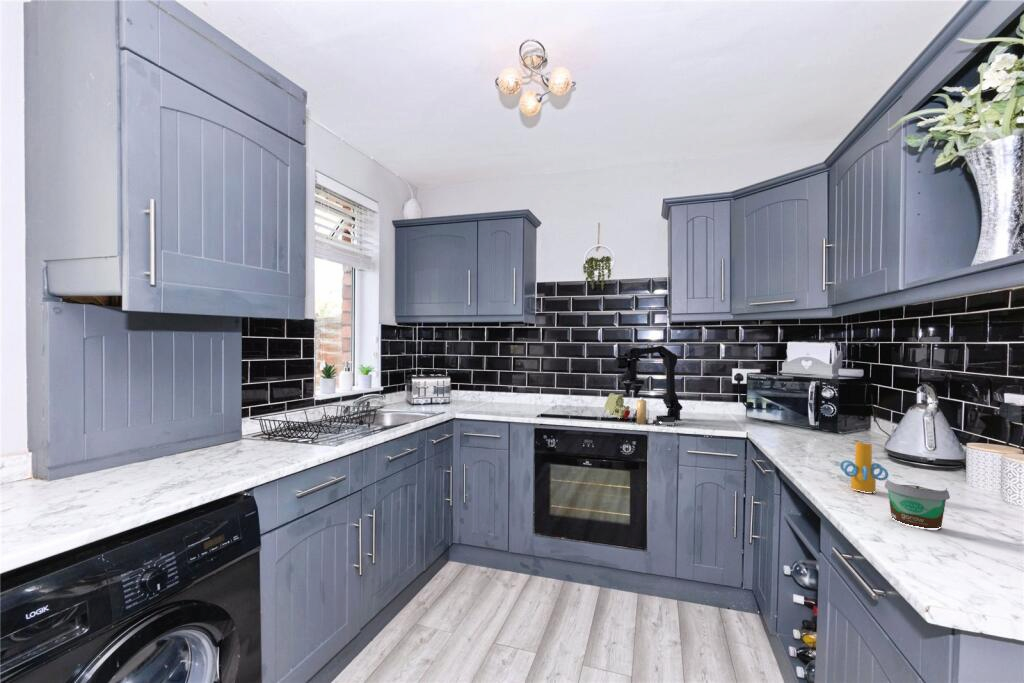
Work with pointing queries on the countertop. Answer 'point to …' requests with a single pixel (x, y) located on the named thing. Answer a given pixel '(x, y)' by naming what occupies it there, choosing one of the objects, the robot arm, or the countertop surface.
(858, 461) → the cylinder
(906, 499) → the food container
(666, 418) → the motor
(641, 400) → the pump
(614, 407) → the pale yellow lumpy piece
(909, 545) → the countertop surface
